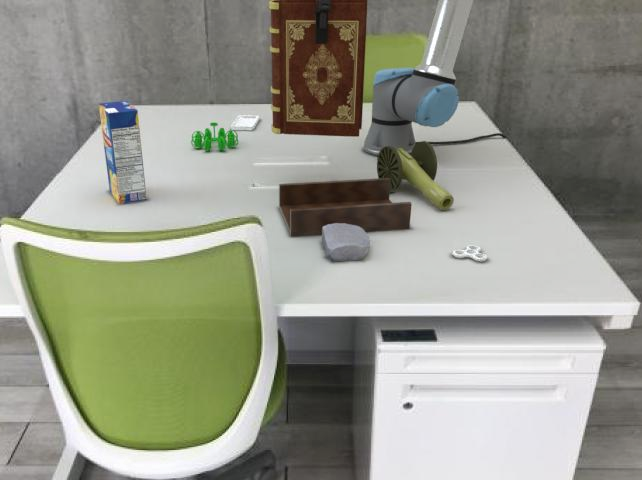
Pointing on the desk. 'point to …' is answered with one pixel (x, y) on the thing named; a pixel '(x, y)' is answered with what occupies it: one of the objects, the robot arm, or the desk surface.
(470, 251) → the fidget spinner
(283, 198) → the book rack
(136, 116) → the beverage box
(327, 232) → the stone block
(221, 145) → the chandelier
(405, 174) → the cannon
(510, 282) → the desk surface
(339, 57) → the decorative book
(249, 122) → the phone case
